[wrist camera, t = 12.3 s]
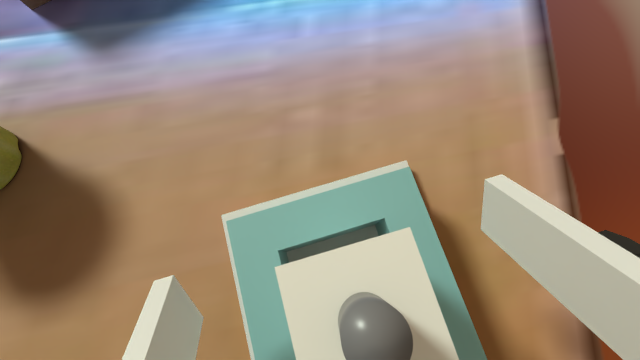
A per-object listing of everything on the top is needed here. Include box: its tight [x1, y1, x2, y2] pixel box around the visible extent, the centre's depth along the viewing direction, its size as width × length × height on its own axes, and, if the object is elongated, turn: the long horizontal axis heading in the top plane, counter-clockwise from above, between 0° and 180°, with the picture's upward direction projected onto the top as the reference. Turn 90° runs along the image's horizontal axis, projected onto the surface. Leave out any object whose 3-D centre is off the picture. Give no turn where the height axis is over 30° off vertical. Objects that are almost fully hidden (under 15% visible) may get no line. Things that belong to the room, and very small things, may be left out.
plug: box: [275, 227, 459, 360], centre depth 13 cm, size 4×4×13 cm
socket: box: [221, 160, 487, 360], centre depth 18 cm, size 14×14×4 cm
